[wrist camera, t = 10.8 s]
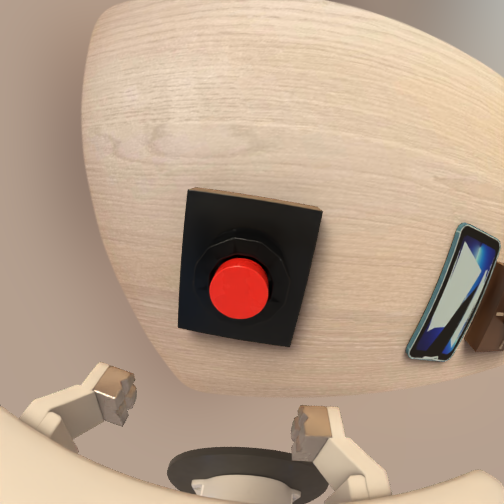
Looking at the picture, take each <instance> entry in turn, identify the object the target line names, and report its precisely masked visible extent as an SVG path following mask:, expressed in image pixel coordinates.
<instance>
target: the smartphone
mask: <svg viewBox="0 0 504 504" xmlns="http://www.w3.org/2000/svg"><path fill="white" fill-rule="evenodd" d="M500 248H501V245H500V241H499V240H498V239H496V238H495V237H493V236H491V235H489V234H487V233H485V232H484V231H482V230H480V229H478V228H476V227H474V226H472V225H470V224H468V223H461V224H460V225H459V226H458V228H457V230H456V233H455V236H454V239H453V243H452V246H451V248H450V251H449V254H448V257H447V260H446V262H445V265H444V268H443V270H442V273H441V275H440V278H439V280H438V283H437V285H436V288H435V290H434V292H433V295H432V297H431V299H430V301H429V304H428V306H427V308H426V310H425V312H424V314H423V316H422V319H421V321H420V323H419V325H418V327H417V329H416V331H415V332H414V334H413V336H412V338H411V340H410V342H409V344H408V346H407V348H406V353H407V355H408V357H409V358H411V359H420V360H430V361H441V362H445V361H447V360H449V359H450V358H451V357H452V356H453V354H454V352H455V351H456V349H457V347H458V345H459V344H460V342H461V340H462V338H463V336H464V334H465V332H466V331H467V329H468V327H469V325H470V323H471V321H472V319H473V317H474V314H475V312H476V310H477V308H478V306H479V304H480V302H481V299H482V297H483V295H484V292H485V290H486V287H487V285H488V283H489V280H490V277H491V275H492V272H493V269H494V267H495V264H496V261H497V258H498V255H499V252H500Z"/></svg>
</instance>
